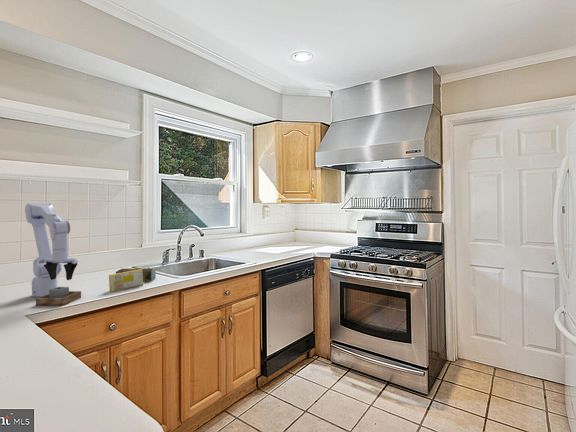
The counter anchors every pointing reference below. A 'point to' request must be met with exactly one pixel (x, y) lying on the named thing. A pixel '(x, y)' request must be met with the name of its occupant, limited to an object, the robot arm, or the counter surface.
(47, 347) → the counter surface
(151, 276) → the beverage carton
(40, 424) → the counter surface
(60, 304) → the walnut crate
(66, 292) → the slate crate
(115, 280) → the candy box
